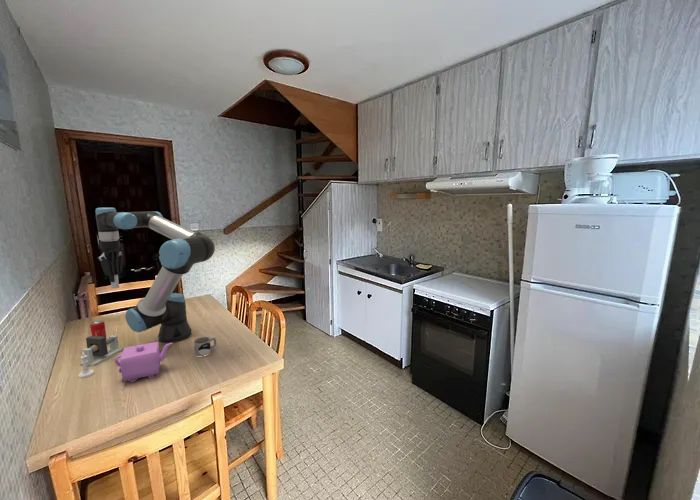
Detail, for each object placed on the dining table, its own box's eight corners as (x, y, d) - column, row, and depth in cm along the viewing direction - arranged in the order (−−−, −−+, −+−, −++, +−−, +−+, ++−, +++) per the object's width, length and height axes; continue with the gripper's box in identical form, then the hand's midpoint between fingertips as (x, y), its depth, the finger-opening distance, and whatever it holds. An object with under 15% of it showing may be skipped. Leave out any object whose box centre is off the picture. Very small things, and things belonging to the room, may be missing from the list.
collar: (93, 352, 132) (91, 335, 131) (108, 353, 132) (105, 336, 130) (88, 355, 130) (85, 338, 129) (103, 356, 129) (100, 339, 128)
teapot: (114, 387, 112) (110, 356, 110) (119, 373, 120) (115, 345, 118) (175, 372, 122) (172, 344, 120) (175, 361, 130) (173, 334, 128)
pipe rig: (109, 349, 140) (107, 334, 139) (122, 350, 139) (121, 335, 138) (80, 365, 126) (77, 349, 125) (94, 366, 126) (92, 350, 124)
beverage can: (99, 348, 140) (96, 325, 139) (90, 347, 141) (87, 324, 140) (110, 343, 145) (106, 320, 144) (101, 342, 147) (98, 319, 145)
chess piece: (93, 369, 123) (89, 347, 121) (95, 374, 120) (92, 351, 118) (77, 375, 119) (73, 352, 118) (79, 379, 116) (75, 356, 115)
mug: (199, 358, 132) (198, 345, 131) (192, 354, 136) (191, 340, 135) (220, 350, 140) (219, 337, 139) (213, 345, 144) (212, 333, 143)
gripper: (113, 238, 146) (119, 284, 150) (89, 241, 133) (96, 291, 137) (127, 238, 146) (133, 284, 149) (105, 242, 133) (111, 292, 137)
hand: (115, 287), depth 143 cm, fingers closed
